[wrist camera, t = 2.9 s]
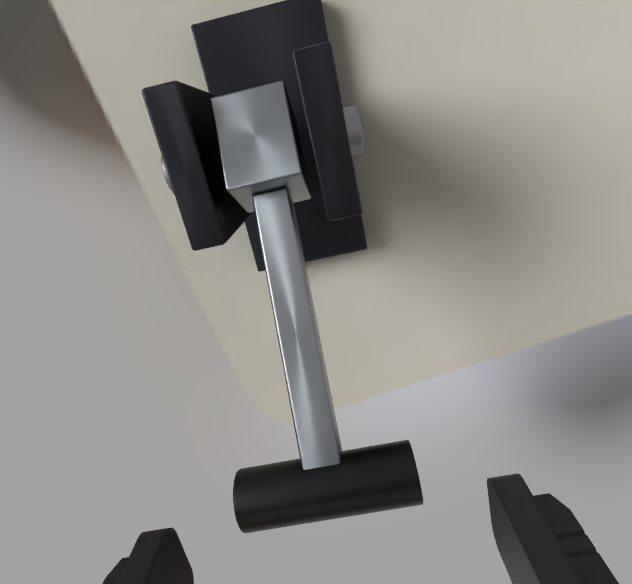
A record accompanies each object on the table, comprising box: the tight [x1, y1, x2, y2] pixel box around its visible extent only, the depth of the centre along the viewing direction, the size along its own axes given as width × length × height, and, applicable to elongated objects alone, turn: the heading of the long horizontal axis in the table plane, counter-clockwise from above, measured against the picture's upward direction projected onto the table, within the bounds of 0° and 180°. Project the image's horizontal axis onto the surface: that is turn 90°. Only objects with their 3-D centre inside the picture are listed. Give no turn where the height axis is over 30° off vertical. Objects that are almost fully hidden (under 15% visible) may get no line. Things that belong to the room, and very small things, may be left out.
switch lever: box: [210, 81, 423, 533], centre depth 13 cm, size 12×5×2 cm, turn 12°
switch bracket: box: [142, 0, 367, 271], centre depth 17 cm, size 12×6×12 cm, turn 13°
